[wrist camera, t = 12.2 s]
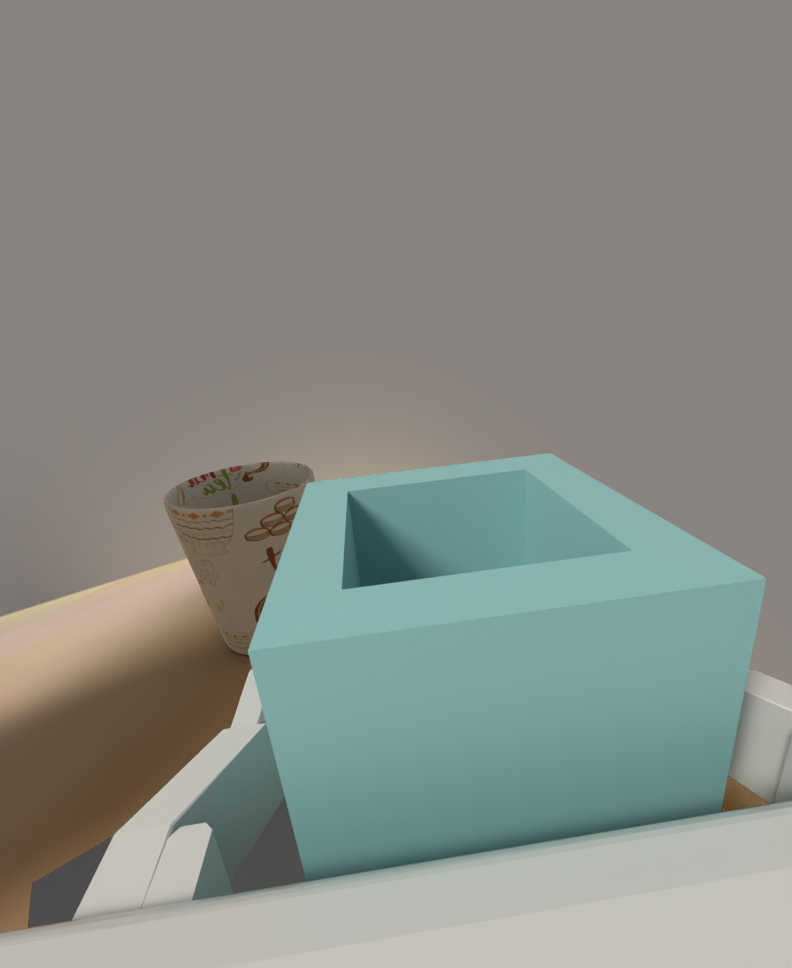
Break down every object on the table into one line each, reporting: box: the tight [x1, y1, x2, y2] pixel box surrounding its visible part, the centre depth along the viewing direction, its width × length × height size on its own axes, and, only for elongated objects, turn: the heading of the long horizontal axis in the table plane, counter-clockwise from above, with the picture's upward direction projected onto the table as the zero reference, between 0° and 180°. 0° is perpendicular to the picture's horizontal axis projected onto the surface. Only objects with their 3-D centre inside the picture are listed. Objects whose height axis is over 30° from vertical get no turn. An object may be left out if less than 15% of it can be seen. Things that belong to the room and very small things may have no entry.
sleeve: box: [248, 453, 766, 882], centre depth 9 cm, size 6×6×10 cm
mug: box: [164, 462, 315, 655], centre depth 29 cm, size 8×13×10 cm, turn 38°
